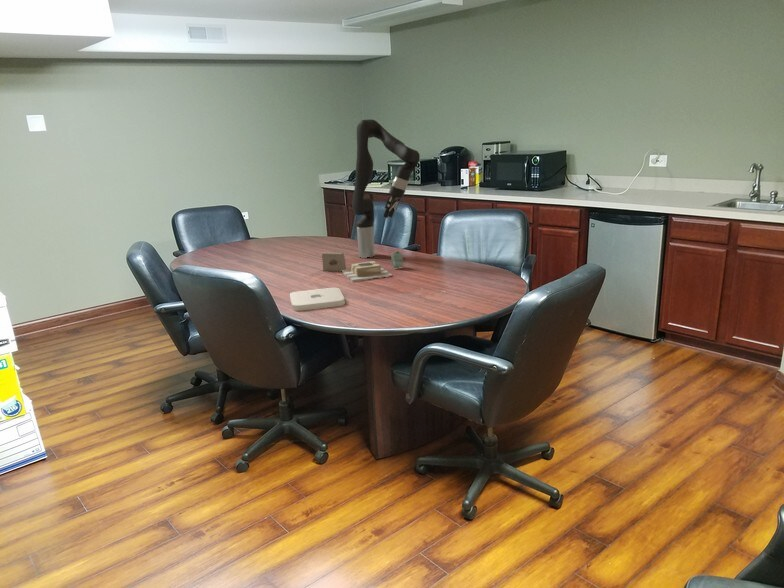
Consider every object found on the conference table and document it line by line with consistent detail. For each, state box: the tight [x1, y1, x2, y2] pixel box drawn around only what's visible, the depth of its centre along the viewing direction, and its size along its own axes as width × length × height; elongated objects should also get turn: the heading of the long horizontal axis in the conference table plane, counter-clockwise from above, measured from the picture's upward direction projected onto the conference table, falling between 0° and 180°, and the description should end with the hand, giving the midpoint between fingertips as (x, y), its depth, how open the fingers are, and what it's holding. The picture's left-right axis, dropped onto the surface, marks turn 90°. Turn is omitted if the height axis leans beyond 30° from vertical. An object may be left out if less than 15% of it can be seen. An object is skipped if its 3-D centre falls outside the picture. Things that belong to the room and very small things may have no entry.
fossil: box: [321, 251, 347, 272], centre depth 300 cm, size 12×4×10 cm, turn 70°
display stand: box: [341, 260, 393, 283], centre depth 289 cm, size 22×20×5 cm
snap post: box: [391, 250, 404, 268], centre depth 298 cm, size 4×4×9 cm
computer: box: [289, 287, 346, 312], centre depth 249 cm, size 22×22×3 cm
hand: (387, 217), depth 297 cm, fingers open, 8 cm apart
